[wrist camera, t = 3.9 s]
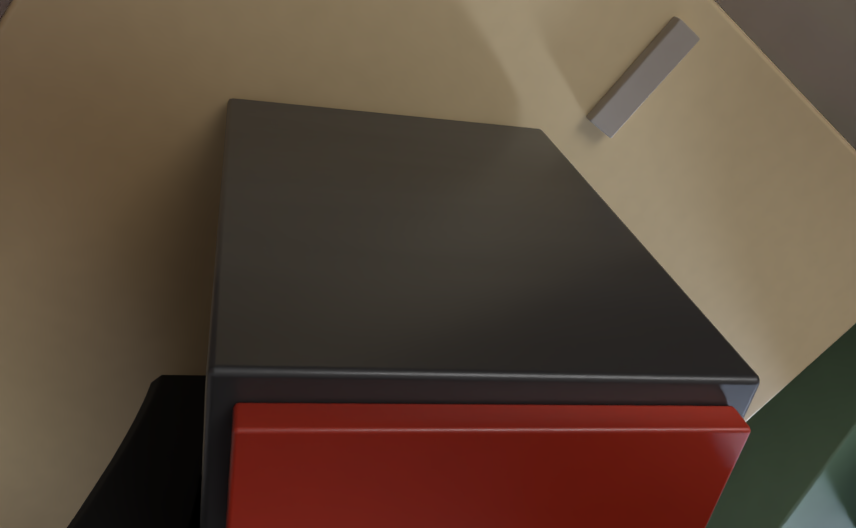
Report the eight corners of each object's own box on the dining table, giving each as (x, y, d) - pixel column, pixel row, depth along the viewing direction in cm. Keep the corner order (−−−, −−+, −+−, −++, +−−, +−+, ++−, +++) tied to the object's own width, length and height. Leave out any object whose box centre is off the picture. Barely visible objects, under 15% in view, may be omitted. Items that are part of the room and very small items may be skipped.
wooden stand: (382, 642, 17) (402, 771, 15) (-269, 427, 12) (-396, 578, 9) (852, 191, 13) (974, 271, 11) (220, -447, 8) (207, -547, 6)
